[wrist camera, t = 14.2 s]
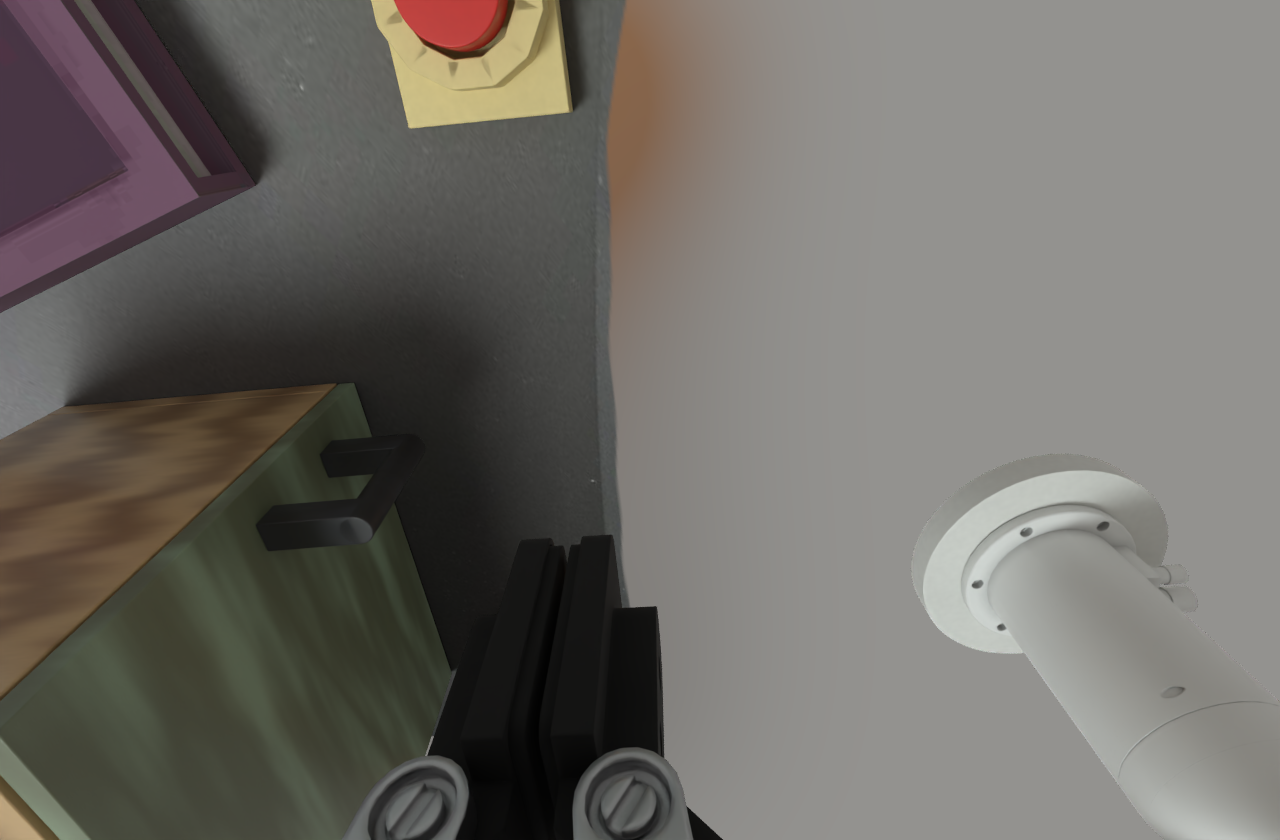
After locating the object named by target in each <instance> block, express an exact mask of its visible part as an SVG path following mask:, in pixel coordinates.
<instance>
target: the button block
mask: <svg viewBox="0 0 1280 840" xmlns="http://www.w3.org/2000/svg"><path fill="white" fill-rule="evenodd" d="M371 2H372V6H373V11H374V15H375V19H376V23H377V26H378V28H379V30H380V31H381V32H382V34H383V35H384V36H385V38H386V39H387V40H388V42H389V46H390V50H391V54H392V59H393V63H394V67H395V71H396V75H397V80H398V84H399V88H400V92H401V96H402V101H403V105H404V109H405V113H406V117H407V122H408V126H409V128H410V129H411V128H421V127H431V126H441V125H451V124H461V123H470V122H480V121H490V120H500V119H510V118H520V117H530V116H540V115H550V114H560V113H569V112H573V107H572V99H571V91H570V83H569V75H568V67H567V59H566V51H565V43H564V35H563V27H562V19H561V11H560V3H559V0H508V8H507V14H506V18H505V20H504V23H503V25H502V27H501V29H500V31H499V33H498V34H497V35H496V37H495V38H494V39H493V40H492V41H491V42H489V43H488V44H487V45H485V46H484V47H482V48H480V49H477V50H474V51H469V52H459V51H453V50H449V49H446V48H443V47H439V46H436V45H434V44H432V43H429V42H428V41H426V40H424V39H423V38H421V37H420V36H419V35H417V34H416V33H415V32H414V31H413V30H412V29H411V28H410V27H409V26H408V24H407V23H406V22H405V21H404V19H403V18H402V16H401V15H400V13H399V11H398V9H397V7H396V4H395V2H394V0H371Z"/></svg>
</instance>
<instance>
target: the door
mask: <svg viewBox="0 0 1280 840" xmlns="http://www.w3.org/2000/svg"><path fill="white" fill-rule="evenodd" d="M424 452H425V443H424V441H423V440H422V439H421V438H420V437H418V436H416V435H414V434H402V435H390V436H379V437H372V435H371V432H370V429H369V426H368V423H367V420H366V417H365V414H364V411H363V408H362V405H361V402H360V399H359V396H358V393H357V390H356V387H355V384H354V383H344V384H338V385H337V386H336V387H335V388H334V389H333V390H332V391H331V392H330V393H329V394H328V395H327V396H326V397H324V398H323V399H322V400H321V401H320V402H319V403H318V404H317V405H316V406H315V407H314V408H313V409H312V410H311V411H310V412H308V413H307V414H306V415H305V416H304V417H303V418H302V419H301V420H300V421H299V422H298V423H297V424H296V425H295V426H294V427H292V428H291V429H290V430H289V431H288V432H287V433H286V434H285V435H284V436H283V437H282V438H281V439H280V440H279V441H277V442H276V443H275V444H274V445H273V446H272V447H271V448H270V449H269V450H268V451H267V452H266V453H265V454H264V455H263V456H261V457H260V458H259V459H258V460H257V461H256V462H255V463H254V464H253V465H252V466H251V467H250V468H249V469H248V470H247V471H245V472H244V473H243V474H242V475H241V476H240V477H239V478H238V479H237V480H236V481H235V482H234V483H233V484H232V485H231V486H229V487H228V488H227V489H226V490H225V491H224V492H223V493H222V494H221V495H220V496H219V497H218V498H217V499H216V500H214V501H213V502H212V503H211V504H210V505H209V506H208V507H207V508H206V509H205V510H204V511H203V512H202V513H201V514H200V515H198V516H197V517H196V518H195V519H194V520H193V521H192V522H191V523H190V524H189V525H188V526H187V527H186V528H185V529H184V530H182V531H181V532H180V533H179V534H178V535H177V536H176V537H175V538H174V539H173V540H172V541H171V542H170V543H169V544H168V545H166V546H165V547H164V548H163V549H162V550H161V551H160V552H159V553H158V554H157V555H156V556H155V557H154V558H153V559H151V560H150V561H149V562H148V563H147V564H146V565H145V566H144V567H143V568H142V569H141V570H140V571H139V572H138V573H137V574H135V575H134V576H133V577H132V578H131V579H130V580H129V581H128V582H127V583H126V584H125V585H124V586H123V587H122V588H121V589H119V590H118V591H117V592H116V593H115V594H114V595H113V596H112V597H111V598H110V599H109V600H108V601H107V602H106V603H105V604H103V605H102V606H101V607H100V608H99V609H98V610H97V611H96V612H95V613H94V614H93V615H92V616H91V617H90V618H89V619H87V620H86V621H85V622H84V623H83V624H82V625H81V626H80V627H79V628H78V629H77V630H76V631H75V632H74V633H72V634H71V635H70V636H69V637H68V638H67V639H66V640H65V641H64V642H63V643H62V644H61V645H60V646H59V647H58V648H56V649H55V650H54V651H53V652H52V653H51V654H50V655H49V656H48V657H47V658H46V659H45V660H44V661H43V662H42V663H40V664H39V665H38V666H37V667H36V668H35V669H34V670H33V671H32V672H31V673H30V674H29V675H28V676H27V677H26V678H24V679H23V680H22V681H21V682H20V683H19V684H18V685H17V686H16V687H15V688H14V689H13V690H12V691H11V692H9V693H8V694H7V695H6V696H5V697H4V698H3V699H2V700H1V701H0V775H1V776H2V777H3V779H4V780H5V781H6V782H7V783H8V784H9V785H10V786H11V787H12V788H13V789H14V790H15V791H16V793H17V794H18V795H19V796H20V797H21V798H22V799H23V800H24V801H25V802H26V803H27V804H28V805H29V807H30V808H31V809H32V810H33V811H34V812H35V813H36V814H37V815H38V816H39V817H40V818H41V819H42V821H43V822H44V823H45V824H46V825H47V826H48V827H49V828H50V829H51V830H52V831H53V832H54V833H55V835H56V836H57V837H58V838H59V839H60V840H342V838H343V836H344V835H345V833H346V831H347V829H348V827H349V826H350V824H351V822H352V820H353V819H354V817H355V815H356V813H357V811H358V810H359V808H360V806H361V804H362V802H363V801H364V799H365V798H366V796H367V795H368V794H369V792H370V791H371V789H372V788H373V787H374V785H375V784H376V783H377V782H378V781H379V780H380V779H382V778H383V777H384V776H385V775H386V774H387V773H388V772H389V771H391V770H392V769H394V768H396V767H397V766H399V765H401V764H402V763H404V762H406V761H409V760H412V759H415V758H418V757H421V756H425V754H426V751H427V748H428V745H429V742H430V739H431V736H432V733H433V730H434V727H435V723H436V720H437V717H438V714H439V711H440V708H441V705H442V702H443V699H444V696H445V693H446V689H447V686H448V683H449V680H450V677H451V674H452V673H451V670H450V667H449V664H448V661H447V658H446V655H445V652H444V649H443V646H442V643H441V640H440V637H439V634H438V631H437V628H436V625H435V622H434V619H433V616H432V613H431V610H430V607H429V604H428V601H427V599H426V596H425V593H424V590H423V587H422V584H421V581H420V578H419V575H418V572H417V569H416V566H415V563H414V560H413V557H412V554H411V551H410V548H409V545H408V542H407V539H406V536H405V533H404V530H403V527H402V524H401V521H400V518H399V515H398V512H397V509H396V506H395V503H394V502H395V500H396V498H397V497H398V495H399V493H400V492H401V490H402V489H403V487H404V485H405V484H406V482H407V480H408V479H409V477H410V475H411V474H412V472H413V470H414V469H415V467H416V466H417V464H418V462H419V461H420V459H421V457H422V456H423V454H424Z"/></svg>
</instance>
